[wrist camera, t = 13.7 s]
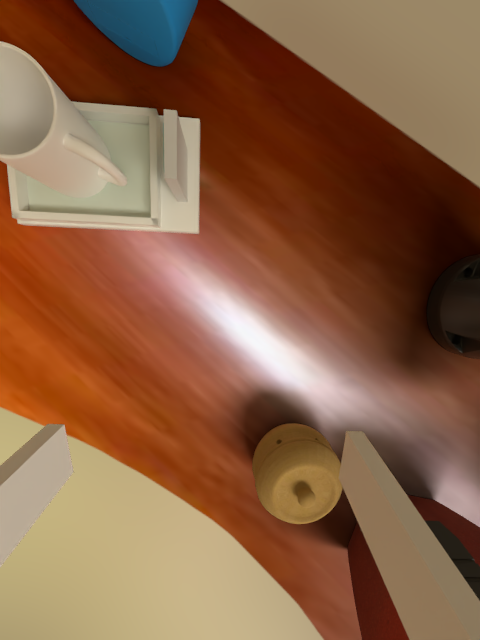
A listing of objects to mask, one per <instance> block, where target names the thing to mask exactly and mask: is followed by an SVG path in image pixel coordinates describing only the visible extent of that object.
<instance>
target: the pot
mask: <svg viewBox="0 0 480 640" xmlns="http://www.w3.org/2000/svg"><path fill="white" fill-rule="evenodd" d="M340 467H341V463H340V461H339V459H338V457H337V455H336V454H335V453H334V452H333V450H332V448H331V446H330V444H329V442H328V441H327V440H326V438H325V437H324V436H323V435H322V434H321V433H319V432H318V431H316V430H315V429H313V428H311V427H308V426H306V425H303V424H296V423H290V424H283V425H280V426H277V427H275V428H273V429H272V430H270V431H269V432H268V433H267V434H265V436H264V437H263V438H262V439H261V441H260V442H259V444H258V446H257V448H256V450H255V452H254V456H253V461H252V468H253V474H254V478H255V486H256V490H257V494H258V497H259V500H260V502H261V503H262V505H263V506H264V508H265V509H266V510H267V511H268V512H269V513H270V514H272V515H273V516H275V517H277V518H278V519H280V520H282V521H285V522H288V523H294V524H306V523H310V522H314V521H316V520H318V519H320V518H322V517H324V516H325V515H326V514H328V513H329V512H330V511H331V510H332V509H333V508H334V506H335V505H336V503H337V502H338V500H339V498H340V496H341V492H342V489H343V487H342V485H341V482H340V480H339V473H340Z"/></svg>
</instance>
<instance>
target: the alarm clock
mask: <svg viewBox="0 0 480 640" xmlns="http://www.w3.org/2000/svg"><path fill="white" fill-rule="evenodd" d="M73 1H74V2H75V3H76V4H77V5H78V7H79V8H80V9H81V10H82V11H83V13H84V14H85V15H86V16H87V17H88V18H89V19H90V20H91V21H92V22H93V23H94V25H95V26H96V27H97V28H98V29H99V30H100V31H101V32H103V33H104V34H105V35H106V36H107V37H108V38H109V39H110V40H111V41H112V42H114V43H115V44H116V45H117V46H118V47H120V48H121V49H122V50H124V51H125V52H127V53H128V54H129V55H131V56H133V57H134V58H136V59H138V60H140V61H142V62H144V63H146V64H149V65H152V66H159V67H161V66H166V65H169V64H170V63H172V62H173V60H174V59H175V57H176V55H177V53H178V50H179V48H180V45H181V43H182V41H183V38H184V36H185V33H186V31H187V28H188V26H189V24H190V21H191V19H192V16H193V14H194V11H195V9H196V6H197V3H198V0H73Z"/></svg>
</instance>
